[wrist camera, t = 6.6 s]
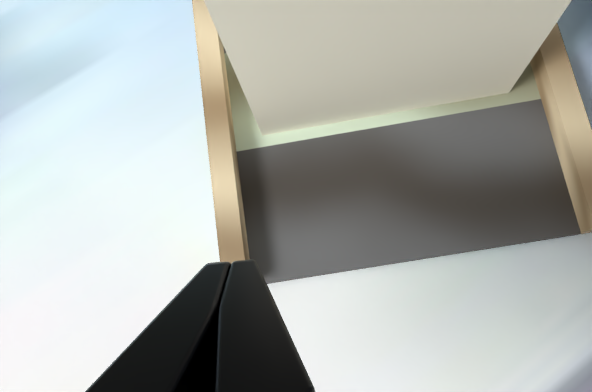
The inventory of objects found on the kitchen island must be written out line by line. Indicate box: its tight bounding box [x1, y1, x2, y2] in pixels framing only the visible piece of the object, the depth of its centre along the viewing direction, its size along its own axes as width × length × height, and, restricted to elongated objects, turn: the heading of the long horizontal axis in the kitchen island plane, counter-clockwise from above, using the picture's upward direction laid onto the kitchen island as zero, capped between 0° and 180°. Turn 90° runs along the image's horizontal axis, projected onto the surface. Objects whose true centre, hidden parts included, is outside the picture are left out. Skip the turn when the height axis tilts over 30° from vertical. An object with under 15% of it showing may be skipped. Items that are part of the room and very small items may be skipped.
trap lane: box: [192, 0, 592, 284], centre depth 22 cm, size 14×16×1 cm
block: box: [204, 0, 572, 136], centre depth 19 cm, size 4×11×10 cm, turn 98°
